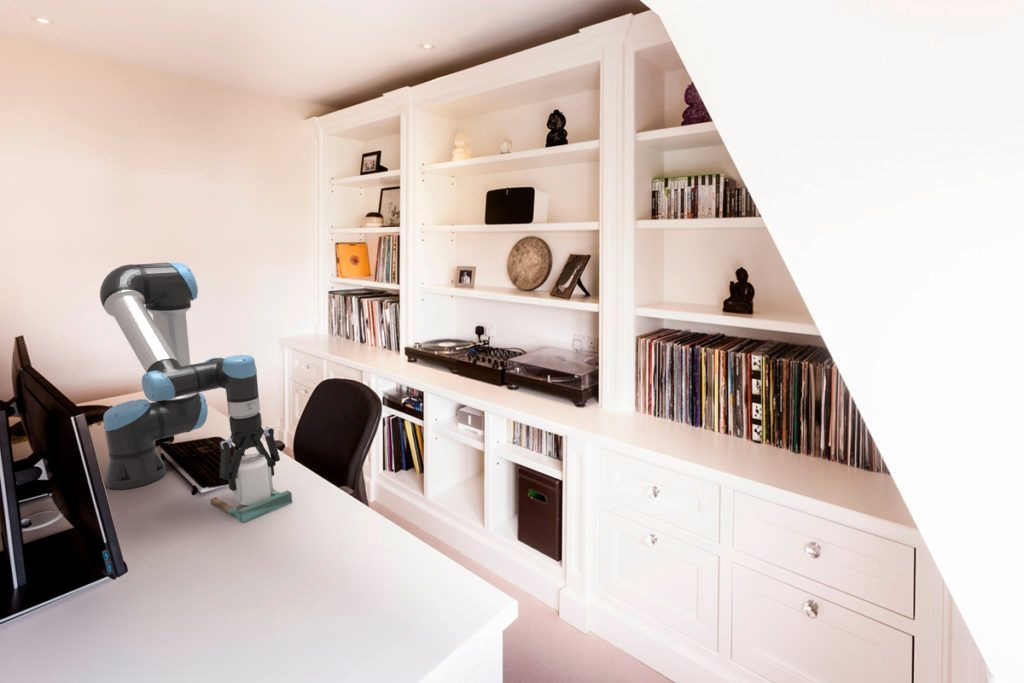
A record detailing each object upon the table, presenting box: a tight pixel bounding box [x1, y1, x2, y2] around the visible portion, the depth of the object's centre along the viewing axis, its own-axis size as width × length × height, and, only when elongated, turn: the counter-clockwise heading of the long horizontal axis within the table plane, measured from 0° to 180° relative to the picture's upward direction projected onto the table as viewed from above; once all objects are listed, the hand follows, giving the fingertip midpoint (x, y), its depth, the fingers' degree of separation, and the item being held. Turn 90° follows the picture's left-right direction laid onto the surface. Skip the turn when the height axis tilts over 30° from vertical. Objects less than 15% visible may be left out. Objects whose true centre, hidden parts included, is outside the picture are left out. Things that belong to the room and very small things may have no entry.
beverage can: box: [236, 453, 272, 507], centre depth 147 cm, size 8×8×12 cm
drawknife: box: [210, 488, 293, 524], centre depth 149 cm, size 18×14×3 cm
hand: (253, 493), depth 148 cm, fingers closed on beverage can, 8 cm apart
